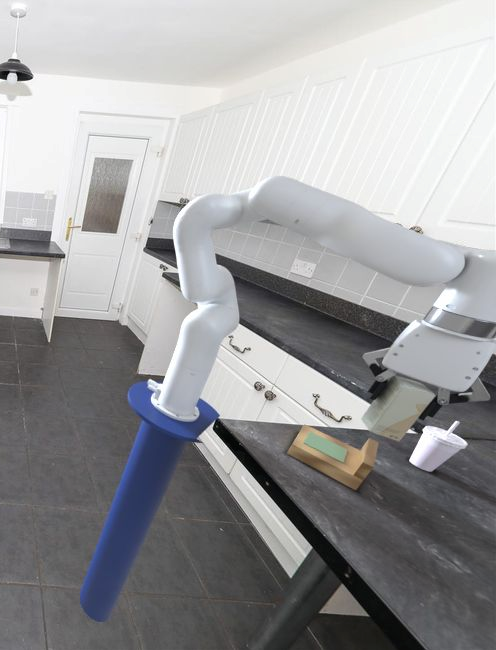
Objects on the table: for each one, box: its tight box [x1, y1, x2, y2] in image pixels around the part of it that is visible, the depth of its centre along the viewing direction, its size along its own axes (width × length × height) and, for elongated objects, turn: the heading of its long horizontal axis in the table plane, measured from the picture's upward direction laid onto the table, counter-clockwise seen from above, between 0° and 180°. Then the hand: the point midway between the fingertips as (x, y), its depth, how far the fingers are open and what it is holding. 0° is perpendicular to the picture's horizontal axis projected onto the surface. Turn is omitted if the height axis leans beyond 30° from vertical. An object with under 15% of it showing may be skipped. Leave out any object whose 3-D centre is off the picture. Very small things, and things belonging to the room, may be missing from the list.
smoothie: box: [409, 420, 469, 473], centre depth 78 cm, size 6×6×14 cm
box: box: [360, 375, 437, 442], centre depth 64 cm, size 5×4×11 cm
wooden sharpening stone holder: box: [286, 423, 380, 491], centre depth 79 cm, size 12×13×7 cm
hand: (396, 406), depth 64 cm, fingers closed on box, 5 cm apart
